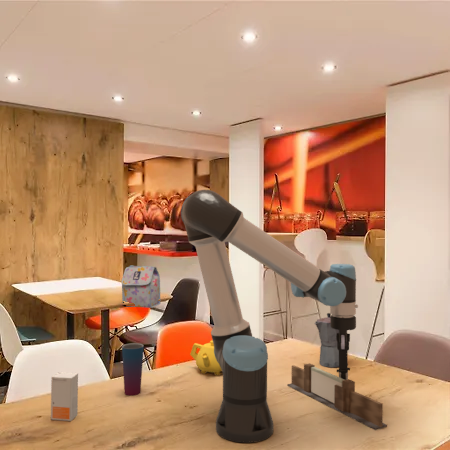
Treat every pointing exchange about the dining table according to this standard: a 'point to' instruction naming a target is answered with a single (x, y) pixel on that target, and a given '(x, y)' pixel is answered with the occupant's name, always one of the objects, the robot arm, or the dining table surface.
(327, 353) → the moka pot
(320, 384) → the beige flat panel
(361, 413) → the fence
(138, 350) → the cup
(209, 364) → the teapot
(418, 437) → the dining table surface
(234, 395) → the robot arm
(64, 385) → the skincare box
